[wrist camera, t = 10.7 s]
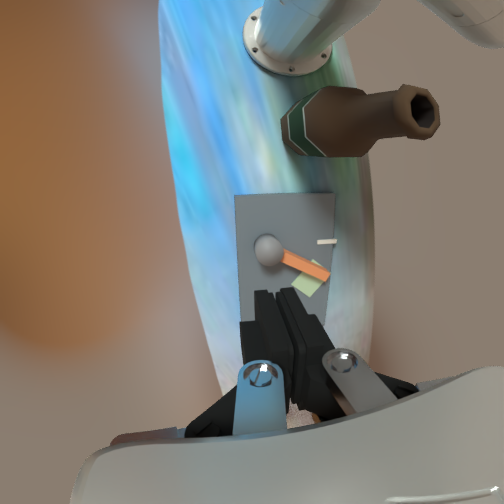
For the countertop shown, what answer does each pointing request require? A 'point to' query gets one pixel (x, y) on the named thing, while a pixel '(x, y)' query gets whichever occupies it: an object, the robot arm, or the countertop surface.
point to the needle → (285, 257)
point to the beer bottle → (357, 120)
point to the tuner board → (285, 246)
